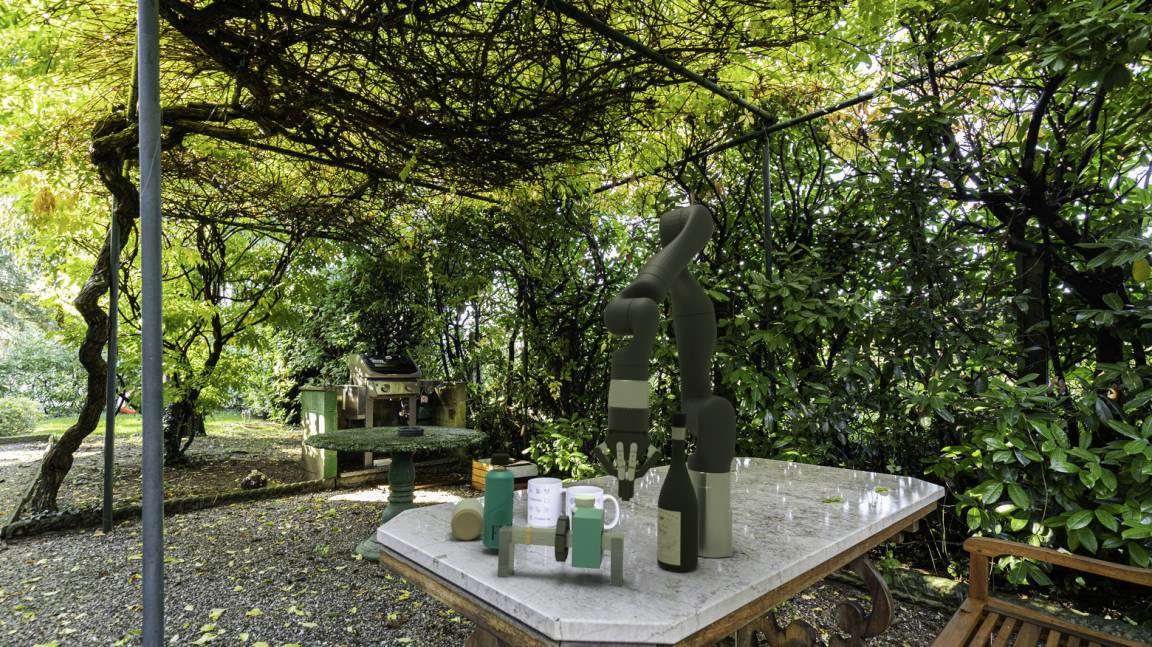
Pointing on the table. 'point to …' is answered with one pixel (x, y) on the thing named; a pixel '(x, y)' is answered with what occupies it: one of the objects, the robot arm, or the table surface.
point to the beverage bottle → (497, 500)
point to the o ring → (561, 538)
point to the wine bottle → (677, 508)
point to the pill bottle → (583, 504)
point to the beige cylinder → (467, 519)
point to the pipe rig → (547, 538)
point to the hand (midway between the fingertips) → (625, 500)
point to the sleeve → (587, 538)
